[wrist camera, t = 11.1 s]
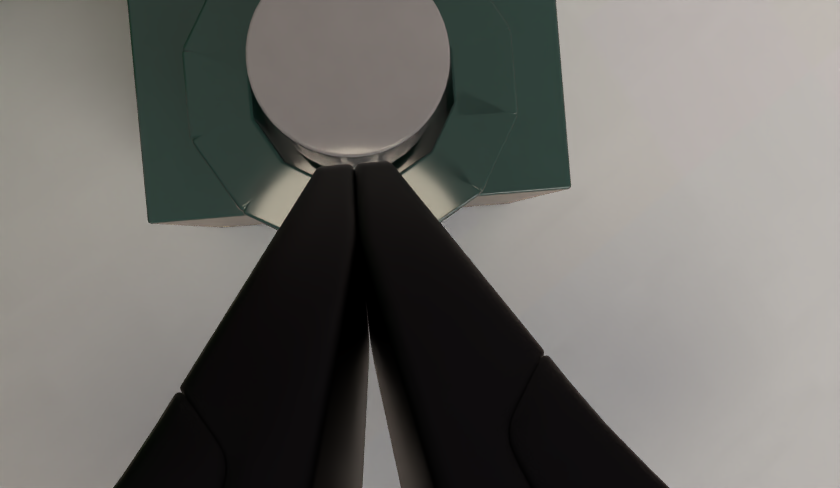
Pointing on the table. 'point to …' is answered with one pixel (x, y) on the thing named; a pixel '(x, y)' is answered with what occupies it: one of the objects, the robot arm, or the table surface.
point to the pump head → (348, 74)
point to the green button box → (291, 170)
